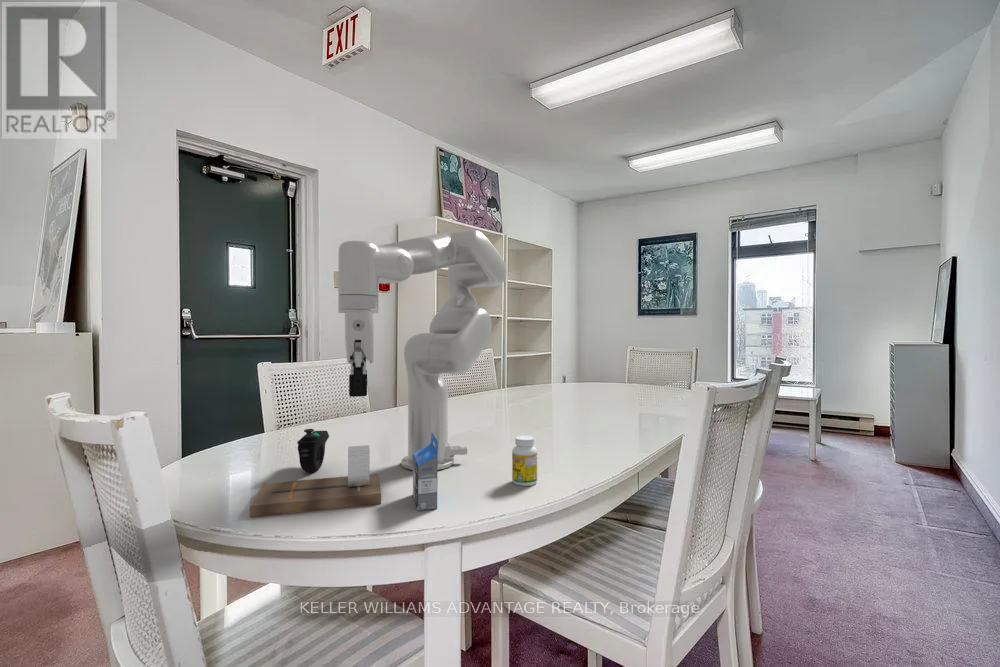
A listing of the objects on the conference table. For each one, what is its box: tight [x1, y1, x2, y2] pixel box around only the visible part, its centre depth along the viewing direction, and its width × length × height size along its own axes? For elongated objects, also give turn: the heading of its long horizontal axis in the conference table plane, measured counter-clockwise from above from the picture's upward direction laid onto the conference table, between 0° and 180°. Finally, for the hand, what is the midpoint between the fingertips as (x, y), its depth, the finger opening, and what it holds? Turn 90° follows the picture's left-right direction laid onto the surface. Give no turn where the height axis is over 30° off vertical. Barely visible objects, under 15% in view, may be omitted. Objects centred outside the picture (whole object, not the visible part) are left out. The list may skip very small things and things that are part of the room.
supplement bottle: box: [511, 435, 538, 487], centre depth 99 cm, size 5×5×10 cm
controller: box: [296, 428, 330, 472], centre depth 107 cm, size 4×12×10 cm, turn 5°
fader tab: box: [347, 445, 371, 487], centre depth 91 cm, size 4×3×7 cm
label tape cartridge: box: [412, 432, 438, 512], centre depth 87 cm, size 9×4×12 cm, turn 17°
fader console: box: [249, 473, 382, 518], centre depth 89 cm, size 22×12×2 cm, turn 107°
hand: (358, 392), depth 90 cm, fingers open, 9 cm apart
